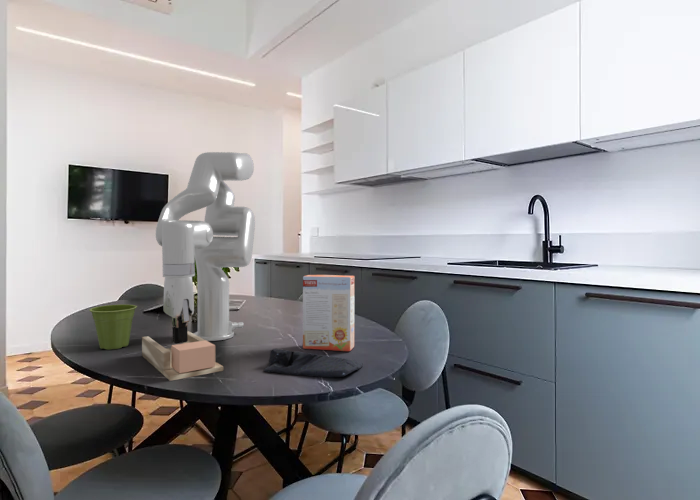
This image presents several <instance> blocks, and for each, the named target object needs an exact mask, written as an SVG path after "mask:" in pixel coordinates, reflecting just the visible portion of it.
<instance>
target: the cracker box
mask: <svg viewBox="0 0 700 500" xmlns="http://www.w3.org/2000/svg"><path fill="white" fill-rule="evenodd" d="M353 348H355V275H341V274H339V275H338V274H336V275H335V274H307V275H304V276H302V349H304V350H305V349H306V350H321V351H337V352H350V351H352V350H353Z"/></svg>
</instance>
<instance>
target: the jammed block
mask: <svg viewBox="0 0 700 500" xmlns="http://www.w3.org/2000/svg"><path fill="white" fill-rule="evenodd" d="M170 348H171V367H172V368H174V369H175V370H176V371H177V372H179V373H184V372H189V371H195V370H200V369H205V368H211V367H215V362H216V344H214V343H212V342H211V341H206V340H205V341H198V342H191V343H184V344H183V343H178V344H172V345H171V346H170Z"/></svg>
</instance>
